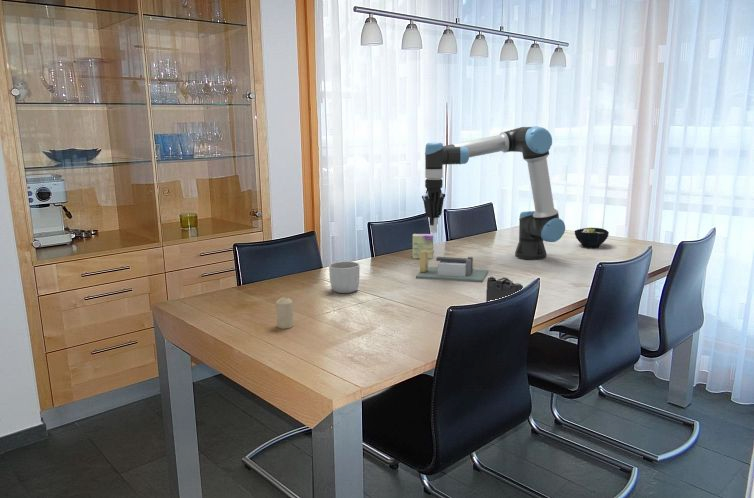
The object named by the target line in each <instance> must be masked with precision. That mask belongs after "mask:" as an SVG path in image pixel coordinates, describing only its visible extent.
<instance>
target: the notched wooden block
mask: <svg viewBox="0 0 754 498" xmlns="http://www.w3.org/2000/svg"><path fill="white" fill-rule="evenodd" d="M434 253H435V250H434V249H433V250H422V251H421V252H420V258H419V272H426V271H427V270H428V267H429V259H428V254H433V255H434Z"/></svg>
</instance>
